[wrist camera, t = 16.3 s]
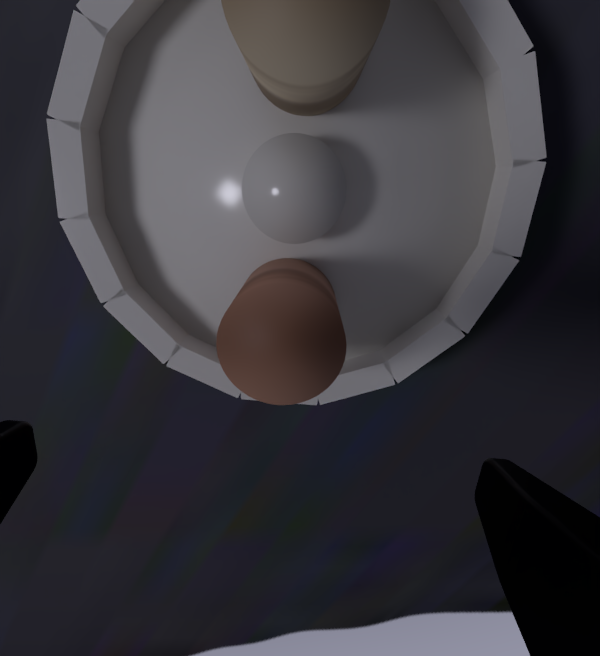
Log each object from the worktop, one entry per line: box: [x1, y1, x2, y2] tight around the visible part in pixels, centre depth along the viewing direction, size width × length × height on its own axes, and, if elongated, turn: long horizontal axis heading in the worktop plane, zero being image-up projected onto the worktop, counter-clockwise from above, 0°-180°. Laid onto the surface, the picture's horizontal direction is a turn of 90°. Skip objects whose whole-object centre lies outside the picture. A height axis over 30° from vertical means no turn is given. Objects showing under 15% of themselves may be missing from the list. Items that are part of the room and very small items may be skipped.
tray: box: [47, 0, 547, 405], centre depth 16 cm, size 18×18×3 cm
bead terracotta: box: [216, 258, 347, 405], centre depth 16 cm, size 4×4×5 cm
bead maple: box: [221, 0, 390, 116], centre depth 12 cm, size 4×4×5 cm
